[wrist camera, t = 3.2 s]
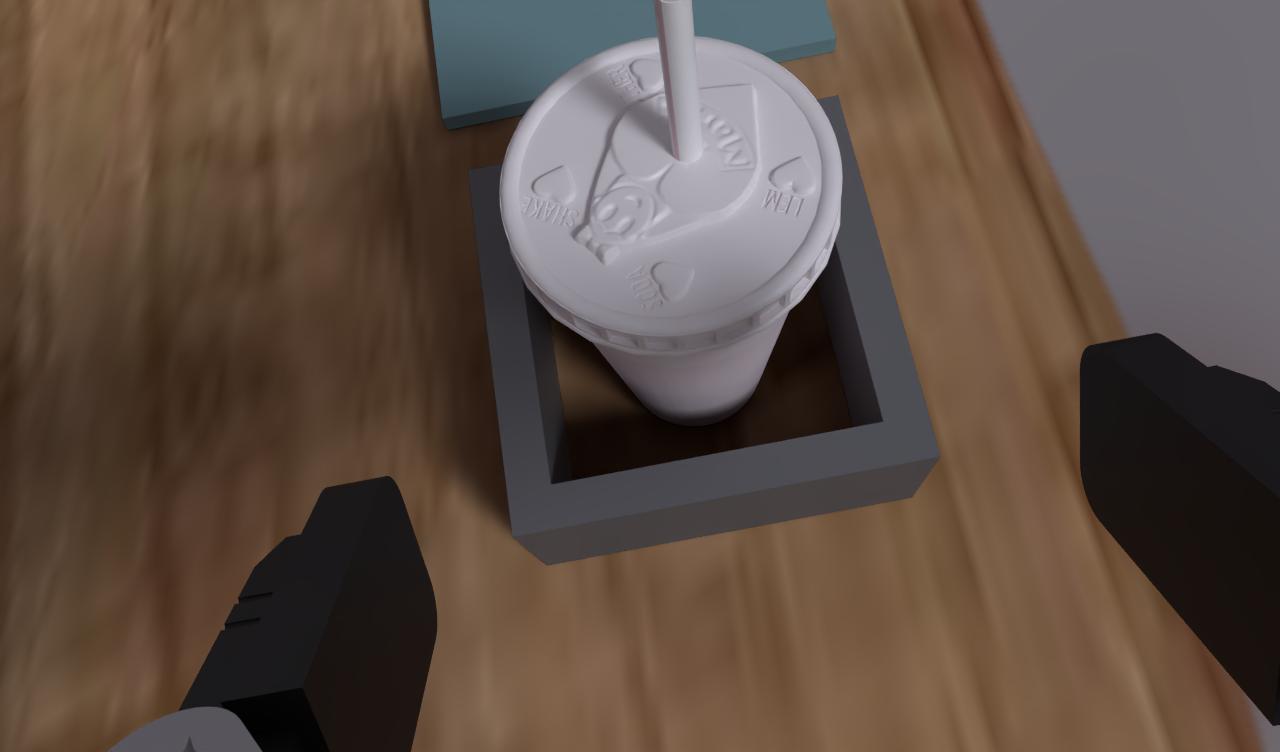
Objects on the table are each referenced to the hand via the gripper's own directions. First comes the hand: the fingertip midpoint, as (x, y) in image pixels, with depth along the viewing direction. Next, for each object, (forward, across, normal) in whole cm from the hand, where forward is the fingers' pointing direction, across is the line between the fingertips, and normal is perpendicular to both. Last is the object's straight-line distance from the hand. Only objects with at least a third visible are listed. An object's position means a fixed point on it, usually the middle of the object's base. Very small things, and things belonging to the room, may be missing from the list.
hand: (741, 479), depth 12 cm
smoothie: (+15, 0, +5) cm, 16 cm away
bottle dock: (+15, 0, +5) cm, 16 cm away
